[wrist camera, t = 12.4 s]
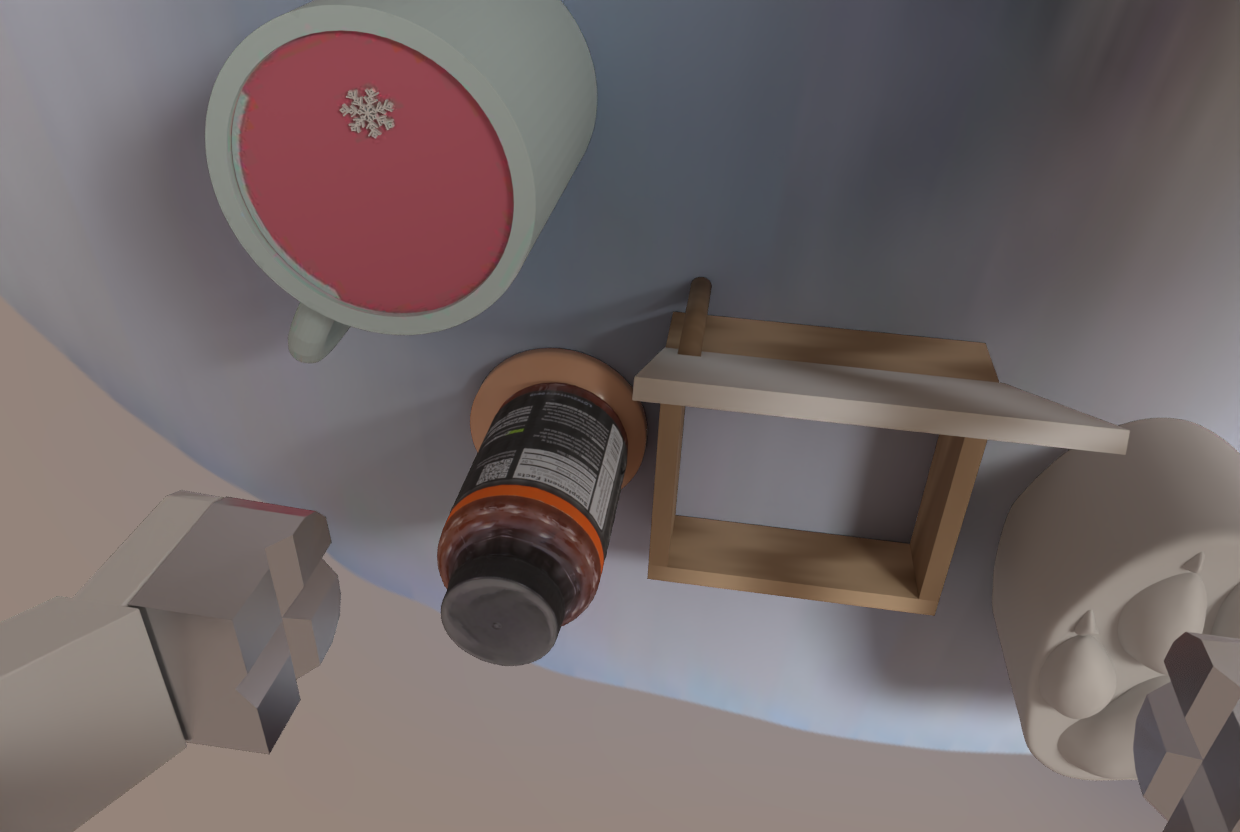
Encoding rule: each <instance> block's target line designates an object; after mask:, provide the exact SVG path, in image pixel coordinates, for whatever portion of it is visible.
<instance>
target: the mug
mask: <svg viewBox="0 0 1240 832" xmlns="http://www.w3.org/2000/svg"><path fill="white" fill-rule="evenodd" d="M596 111H597V84H596V76H595V71H594V66H593V62H592V58H591V55H590V52H589V49H588V46H587V44H586V41H585V39H584V37H583V35H582V33H581V31H580V29H579V27H578V25H577V23H576V22H575V20H574V18H573V17H572V15H571V14H570V12H569V11H568V10H567V8H566V7H565V6H564V4H563V3H562V2H561V1H560V0H314V1H312V2H310V3H308V4H306V5H303V6H301V7H299V8H297V9H294V10H292V11H290V12H288V13H286V14H283V15H281V16H279V17H277V18H275V19H272V20H271V21H269V22H267V23H266V24H264V25H262V26H261V27H259V28H258V29H256V30H255V31H254V32H253V33H251V34H250V35H249V36H247V37H246V38H245V39H244V40H243V41H242V42H241V43H240V44H239V45H238V46H237V47H236V49H235V50H234V51H233V53H232V54H231V55H230V57H229V58H228V59H227V61H226V62H225V64H224V66H223V67H222V69H221V71H220V73H219V75H218V77H217V79H216V82H215V84H214V86H213V89H212V93H211V96H210V100H209V104H208V109H207V115H206V125H205V149H206V157H207V164H208V169H209V174H210V178H211V182H212V185H213V188H214V191H215V195H216V197H217V200H218V202H219V205H220V207H221V210H222V212H223V214H224V216H225V218H226V220H227V222H228V224H229V226H230V227H231V229H232V231H233V232H234V234H235V235H236V237H237V239H238V240H239V242H240V243H241V245H242V246H243V247H244V249H245V250H246V251H247V253H248V254H249V255H250V256H251V258H252V259H253V260H254V261H255V262H256V264H257V265H258V266H259V267H260V268H261V269H262V270H263V271H264V272H265V273H266V274H267V275H268V276H269V277H270V278H271V279H272V280H273V281H274V282H275V283H276V284H278V285H279V286H280V287H281V288H282V289H283V290H285V291H286V292H287V293H289V294H290V295H291V296H293V297H294V298H295V299H297V300H298V301H300V304H299V306H298V308H297V311H296V313H295V316H294V318H293V321H292V324H291V327H290V331H289V335H288V347H289V351H290V353H291V355H292V356H293V357H294V358H295V359H296V360H298V361H300V362H303V363H316V362H319V361H320V360H322V359H323V358H324V357H326V356H327V355H328V354H329V353H330V352H331V351H332V350H333V348H334V347H335V346H336V345H337V344H338V342H339V341H340V340H341V338H342V337H343V336H344V335H345V333H346V332H347V331H348V329H349V328H350V326H351V327H354V328H358V329H362V330H366V331H370V332H376V333H381V334H391V335H417V334H427V333H432V332H437V331H441V330H445V329H448V328H452V327H454V326H457V325H459V324H462V323H464V322H466V321H468V320H470V319H472V318H473V317H475V316H477V315H479V314H480V313H481V312H483V311H484V310H486V309H487V308H489V307H490V306H491V305H492V304H493V303H494V302H495V301H496V300H498V299H499V298H500V297H501V295H502V294H503V293H504V292H505V291H506V290H507V289H508V287H509V286H510V285H511V283H512V282H513V280H514V279H515V278H516V276H517V274H518V272H519V270H520V269H521V267H522V265H523V263H524V262H525V260H526V258H527V256H528V254H529V253H530V251H531V249H532V247H533V245H534V244H535V242H536V240H537V238H538V236H539V235H540V233H541V231H542V229H543V227H544V226H545V224H546V222H547V220H548V218H549V217H550V215H551V213H552V211H553V209H554V208H555V206H556V204H557V202H558V200H559V199H560V197H561V195H562V193H563V191H564V190H565V188H566V186H567V184H568V182H569V181H570V179H571V177H572V175H573V173H574V172H575V170H576V168H577V166H578V164H579V163H580V161H581V159H582V157H583V155H584V154H585V152H586V149H587V147H588V144H589V142H590V139H591V136H592V133H593V129H594V124H595V119H596Z"/></svg>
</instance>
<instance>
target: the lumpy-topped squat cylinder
mask: <svg viewBox="0 0 1240 832" xmlns="http://www.w3.org/2000/svg"><path fill="white" fill-rule="evenodd" d="M1119 426H1120V427H1122V428H1125V429H1128V430H1130V433H1129V439H1128V444H1127V450H1126V455H1122V454H1113V453H1104V452H1095V451H1086V450H1077V449H1070V450H1069V451H1067V452H1066V453H1064V454H1063V455H1062V456H1061V457H1059V458H1058V459H1057V460H1056V461H1055V462H1053V463H1052V464H1051V465H1050V466H1049V467H1048V468H1047V469H1046V470H1045V471H1044V472H1042V473H1041V474H1040V475H1039V476H1038V477H1037V478H1036V479H1035V480H1034V481H1033V482H1032V483H1031V484H1030V485H1029V486H1028V488H1027V489H1026V490H1025V491H1024V492H1023V493H1022V494H1021V495H1020V496H1019V497H1018V499H1017V500H1016V501H1015V502H1014V504H1013V505H1012V507H1011V509H1010V511H1009V513H1008V515H1007V518H1006V521H1005V524H1004V527H1003V530H1002V534H1001V537H1000V541H999V545H998V550H997V554H996V559H995V565H994V573H993V591H992V610H993V615H994V619H995V623H996V627H997V631H998V635H999V639H1000V643H1001V647H1002V651H1003V655H1004V659H1005V663H1006V667H1007V671H1008V675H1009V679H1010V683H1011V687H1012V691H1013V695H1014V699H1015V703H1016V707H1017V710H1018V714H1019V718H1020V722H1021V726H1022V731H1023V735H1024V738H1025V741H1026V744H1027V746H1028V748H1029V750H1030V751H1031V753H1032V754H1033V755H1034V756H1035V758H1037V759H1038V760H1039V761H1040V762H1041V763H1042V764H1043V765H1045V766H1046V767H1048V768H1049V769H1051V770H1052V771H1055V772H1056V773H1058V774H1060V775H1063V776H1067V777H1070V778H1077V779H1083V780H1096V781H1102V780H1103V781H1104V780H1138V778H1137V775H1136V771H1135V762H1134V754H1133V743H1134V733H1135V724H1136V718H1137V716H1138V714H1139V711H1140V709H1141V707H1142V705H1143V702H1144V700H1145V698H1146V695H1147V694H1148V693H1150V692H1152V691H1154V690H1156V689H1158V688H1160V687H1161V686H1163V685H1165V684H1167V683H1169V682H1171V680H1170V677H1169V675H1168V672H1167V669H1166V667H1165V664H1164V659H1165V657H1166V655H1167V653H1168V651H1169V649H1170V647H1171V645H1172V643H1173V642H1174V641H1175V640H1176V639H1177V638H1178V637H1180V636H1181V635H1182V634H1183V633H1184V632H1193V633H1200V634H1208V635H1216V636H1223V637H1231V638H1238V639H1240V453H1239V452H1238V451H1237V450H1236V449H1235V448H1234V447H1232V446H1231V445H1230V444H1229V443H1228V442H1226V441H1225V440H1224V439H1222V438H1221V437H1220V436H1218V435H1217V434H1215V433H1214V432H1212V431H1210V430H1209V429H1207V428H1205V427H1203V426H1201V425H1198V424H1196V423H1193V422H1190V421H1186V420H1181V419H1174V418H1149V419H1142V420H1136V421H1132V422H1128V423H1125V424H1122V425H1119Z"/></svg>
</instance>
